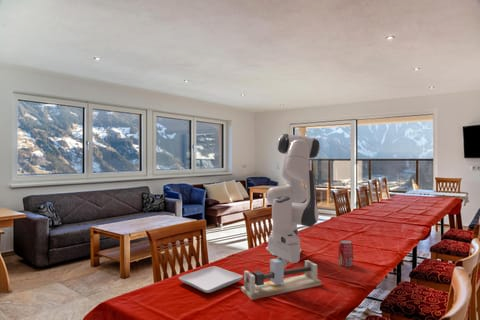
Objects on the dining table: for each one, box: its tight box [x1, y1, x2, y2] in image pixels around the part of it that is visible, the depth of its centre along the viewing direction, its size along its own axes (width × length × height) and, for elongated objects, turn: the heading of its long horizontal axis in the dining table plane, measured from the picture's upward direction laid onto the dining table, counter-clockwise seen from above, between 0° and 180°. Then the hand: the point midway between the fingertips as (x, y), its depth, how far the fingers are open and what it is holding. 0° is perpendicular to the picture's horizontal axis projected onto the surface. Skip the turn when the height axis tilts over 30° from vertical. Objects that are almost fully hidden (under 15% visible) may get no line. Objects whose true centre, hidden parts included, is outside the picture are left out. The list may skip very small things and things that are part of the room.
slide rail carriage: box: [269, 257, 285, 284], centre depth 138 cm, size 4×4×9 cm
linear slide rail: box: [240, 259, 323, 301], centre depth 139 cm, size 10×34×8 cm, turn 114°
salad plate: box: [178, 265, 244, 294], centre depth 145 cm, size 21×21×3 cm
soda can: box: [338, 239, 354, 268], centre depth 166 cm, size 7×7×12 cm
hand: (282, 267), depth 139 cm, fingers closed
